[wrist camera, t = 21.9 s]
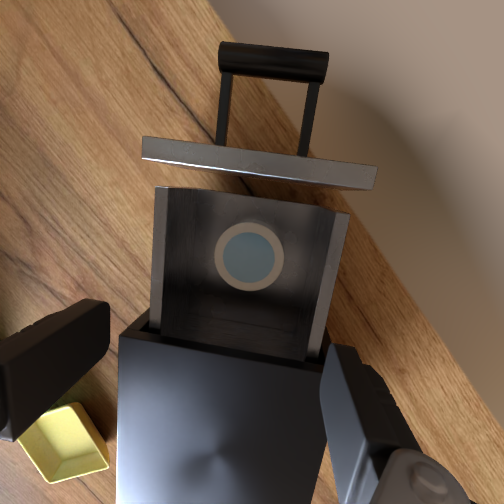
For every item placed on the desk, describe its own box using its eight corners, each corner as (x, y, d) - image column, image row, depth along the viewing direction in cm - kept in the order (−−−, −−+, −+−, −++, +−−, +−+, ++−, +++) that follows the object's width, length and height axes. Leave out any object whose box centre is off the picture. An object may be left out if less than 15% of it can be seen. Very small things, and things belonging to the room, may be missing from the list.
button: (238, 207, 20) (234, 208, 18) (296, 240, 20) (298, 245, 18) (208, 262, 22) (201, 269, 20) (263, 293, 22) (261, 303, 20)
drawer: (192, 72, 19) (145, 8, 13) (362, 91, 19) (411, 33, 12) (175, 312, 24) (134, 360, 17) (310, 336, 23) (322, 396, 16)
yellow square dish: (84, 389, 29) (69, 404, 27) (121, 450, 30) (110, 469, 28) (24, 409, 30) (6, 424, 28) (63, 466, 32) (48, 484, 30)
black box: (174, 284, 25) (118, 335, 16) (320, 309, 24) (344, 377, 15) (165, 415, 28) (115, 513, 20) (291, 441, 27) (297, 557, 19)
